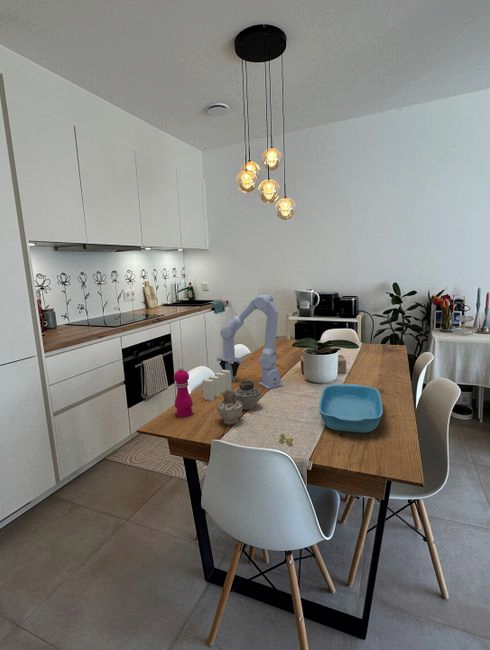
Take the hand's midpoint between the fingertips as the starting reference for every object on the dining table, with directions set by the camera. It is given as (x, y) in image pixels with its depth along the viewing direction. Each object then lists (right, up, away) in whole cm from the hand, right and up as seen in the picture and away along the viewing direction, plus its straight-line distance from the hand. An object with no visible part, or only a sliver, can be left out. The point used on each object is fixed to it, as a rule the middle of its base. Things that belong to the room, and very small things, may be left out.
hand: (230, 375), depth 181 cm
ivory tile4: (-6, -7, -19) cm, 21 cm away
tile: (-4, -6, -15) cm, 17 cm away
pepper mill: (-17, -11, -38) cm, 43 cm away
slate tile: (0, -3, +1) cm, 3 cm away
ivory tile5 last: (-9, -7, -23) cm, 26 cm away
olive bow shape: (+21, -14, -63) cm, 68 cm away
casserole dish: (+48, -9, -46) cm, 67 cm away
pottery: (+6, -10, -39) cm, 41 cm away
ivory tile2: (-1, -5, -11) cm, 12 cm away
